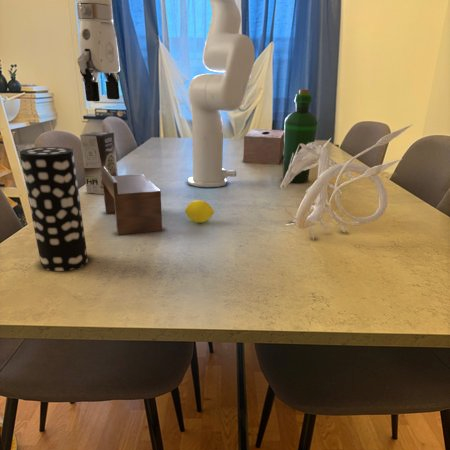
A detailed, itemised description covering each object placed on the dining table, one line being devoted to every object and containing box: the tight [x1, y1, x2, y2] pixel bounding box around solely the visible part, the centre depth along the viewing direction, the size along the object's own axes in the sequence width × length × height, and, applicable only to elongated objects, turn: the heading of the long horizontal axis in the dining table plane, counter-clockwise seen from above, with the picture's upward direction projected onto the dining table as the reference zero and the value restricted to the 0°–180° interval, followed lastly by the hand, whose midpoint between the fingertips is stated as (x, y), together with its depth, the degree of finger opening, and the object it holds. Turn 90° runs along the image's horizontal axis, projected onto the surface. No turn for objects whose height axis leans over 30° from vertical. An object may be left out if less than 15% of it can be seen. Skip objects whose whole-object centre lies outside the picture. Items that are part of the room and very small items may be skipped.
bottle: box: [282, 88, 319, 184], centre depth 140 cm, size 11×11×28 cm
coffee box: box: [79, 131, 119, 195], centre depth 125 cm, size 9×6×16 cm
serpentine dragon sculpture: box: [279, 123, 413, 241], centre depth 93 cm, size 45×21×26 cm, turn 4°
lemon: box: [184, 199, 215, 224], centre depth 103 cm, size 7×5×5 cm
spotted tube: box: [19, 146, 89, 272], centre depth 76 cm, size 8×8×20 cm
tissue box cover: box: [242, 128, 284, 165], centre depth 183 cm, size 26×14×10 cm, turn 169°
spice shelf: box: [101, 166, 163, 236], centre depth 101 cm, size 10×18×11 cm, turn 22°
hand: (103, 100), depth 104 cm, fingers open, 9 cm apart
